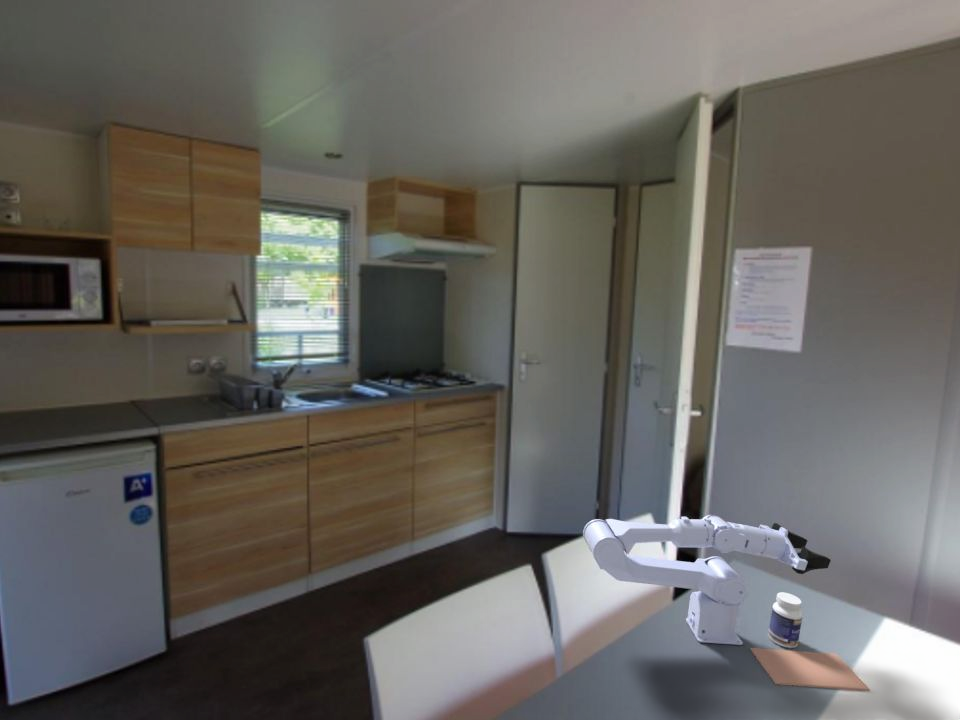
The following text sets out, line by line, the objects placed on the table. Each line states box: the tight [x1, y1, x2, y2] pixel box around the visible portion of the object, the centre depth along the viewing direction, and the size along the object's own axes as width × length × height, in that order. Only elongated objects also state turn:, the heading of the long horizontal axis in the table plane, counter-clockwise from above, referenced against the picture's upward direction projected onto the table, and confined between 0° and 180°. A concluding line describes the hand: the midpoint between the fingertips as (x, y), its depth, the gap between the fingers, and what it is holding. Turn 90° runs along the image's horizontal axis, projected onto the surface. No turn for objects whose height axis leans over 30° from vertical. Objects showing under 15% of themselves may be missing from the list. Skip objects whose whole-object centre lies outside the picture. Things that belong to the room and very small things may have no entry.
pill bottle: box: [768, 591, 803, 649], centre depth 116 cm, size 6×6×10 cm
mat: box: [749, 647, 871, 692], centre depth 107 cm, size 18×10×1 cm, turn 89°
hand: (816, 553), depth 116 cm, fingers open, 7 cm apart
